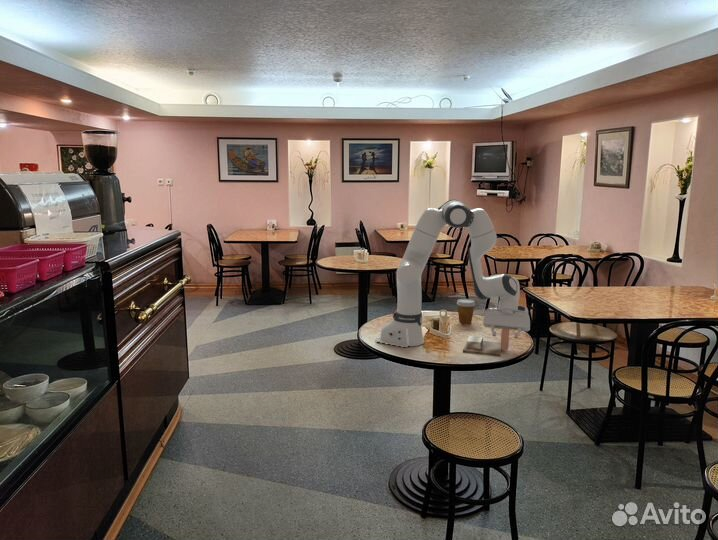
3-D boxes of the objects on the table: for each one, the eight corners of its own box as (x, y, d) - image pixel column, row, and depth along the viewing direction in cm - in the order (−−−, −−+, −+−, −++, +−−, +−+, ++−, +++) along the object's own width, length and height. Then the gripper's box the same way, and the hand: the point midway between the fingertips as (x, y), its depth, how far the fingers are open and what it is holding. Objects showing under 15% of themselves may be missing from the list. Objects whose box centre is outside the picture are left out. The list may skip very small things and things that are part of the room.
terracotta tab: (500, 349, 224) (501, 331, 223) (501, 345, 229) (502, 328, 227) (507, 350, 223) (508, 332, 222) (508, 346, 228) (509, 329, 226)
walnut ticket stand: (462, 352, 225) (463, 343, 224) (468, 341, 240) (468, 333, 239) (500, 356, 219) (500, 347, 219) (503, 345, 234) (503, 336, 233)
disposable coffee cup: (478, 324, 267) (479, 302, 264) (462, 326, 263) (463, 303, 261) (467, 319, 275) (468, 298, 273) (452, 321, 272) (453, 299, 270)
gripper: (484, 304, 234) (480, 331, 227) (531, 308, 227) (529, 335, 220) (485, 311, 239) (481, 337, 232) (531, 315, 232) (528, 342, 225)
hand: (505, 336), depth 226 cm, fingers open, 8 cm apart
